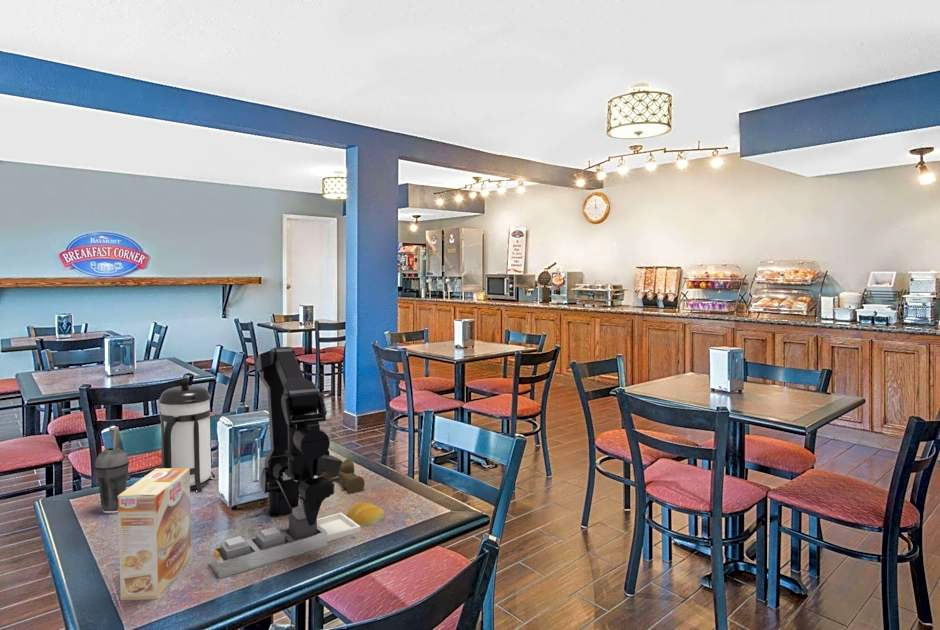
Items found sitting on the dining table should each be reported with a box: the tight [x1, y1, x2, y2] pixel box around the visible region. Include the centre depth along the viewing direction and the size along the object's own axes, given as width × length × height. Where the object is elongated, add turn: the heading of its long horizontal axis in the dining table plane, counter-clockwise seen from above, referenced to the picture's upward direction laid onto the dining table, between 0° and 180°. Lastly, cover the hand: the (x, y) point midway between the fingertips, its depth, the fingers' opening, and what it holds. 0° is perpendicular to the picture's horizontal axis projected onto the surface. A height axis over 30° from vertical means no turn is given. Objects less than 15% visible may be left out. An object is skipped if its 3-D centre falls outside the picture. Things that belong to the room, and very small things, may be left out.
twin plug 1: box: [219, 535, 250, 561], centre depth 115 cm, size 4×4×5 cm
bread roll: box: [346, 501, 385, 527], centre depth 138 cm, size 8×9×4 cm
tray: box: [317, 512, 362, 542], centre depth 131 cm, size 10×10×2 cm
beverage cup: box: [93, 428, 130, 511], centre depth 141 cm, size 7×7×20 cm
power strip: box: [208, 524, 329, 579], centre depth 119 cm, size 7×22×4 cm, turn 129°
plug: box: [288, 505, 318, 540], centre depth 123 cm, size 4×4×8 cm
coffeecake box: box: [117, 467, 192, 601], centre depth 109 cm, size 15×7×20 cm, turn 5°
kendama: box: [316, 458, 366, 494], centre depth 162 cm, size 6×10×20 cm
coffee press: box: [158, 377, 216, 492], centre depth 157 cm, size 17×16×30 cm
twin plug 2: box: [255, 526, 285, 550], centre depth 119 cm, size 4×4×5 cm
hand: (302, 517), depth 123 cm, fingers open, 9 cm apart
